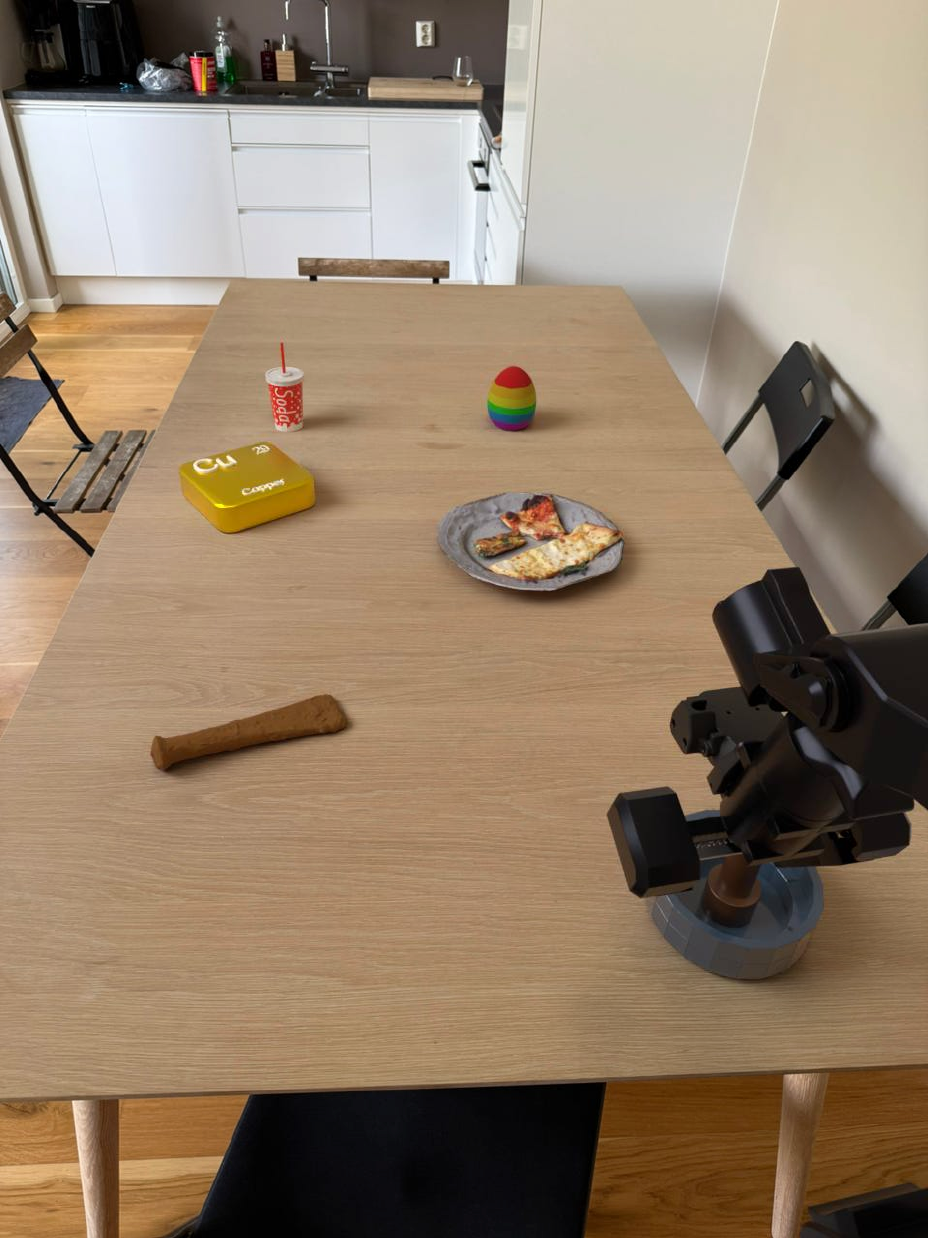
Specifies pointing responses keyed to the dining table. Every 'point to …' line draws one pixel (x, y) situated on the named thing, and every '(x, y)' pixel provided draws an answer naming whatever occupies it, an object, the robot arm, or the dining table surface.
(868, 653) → the robot arm
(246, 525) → the element tile
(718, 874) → the pestle
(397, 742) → the dining table surface
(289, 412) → the beverage cup
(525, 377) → the decorative egg
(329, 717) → the primitive tool
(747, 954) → the bowl
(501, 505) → the food plate
